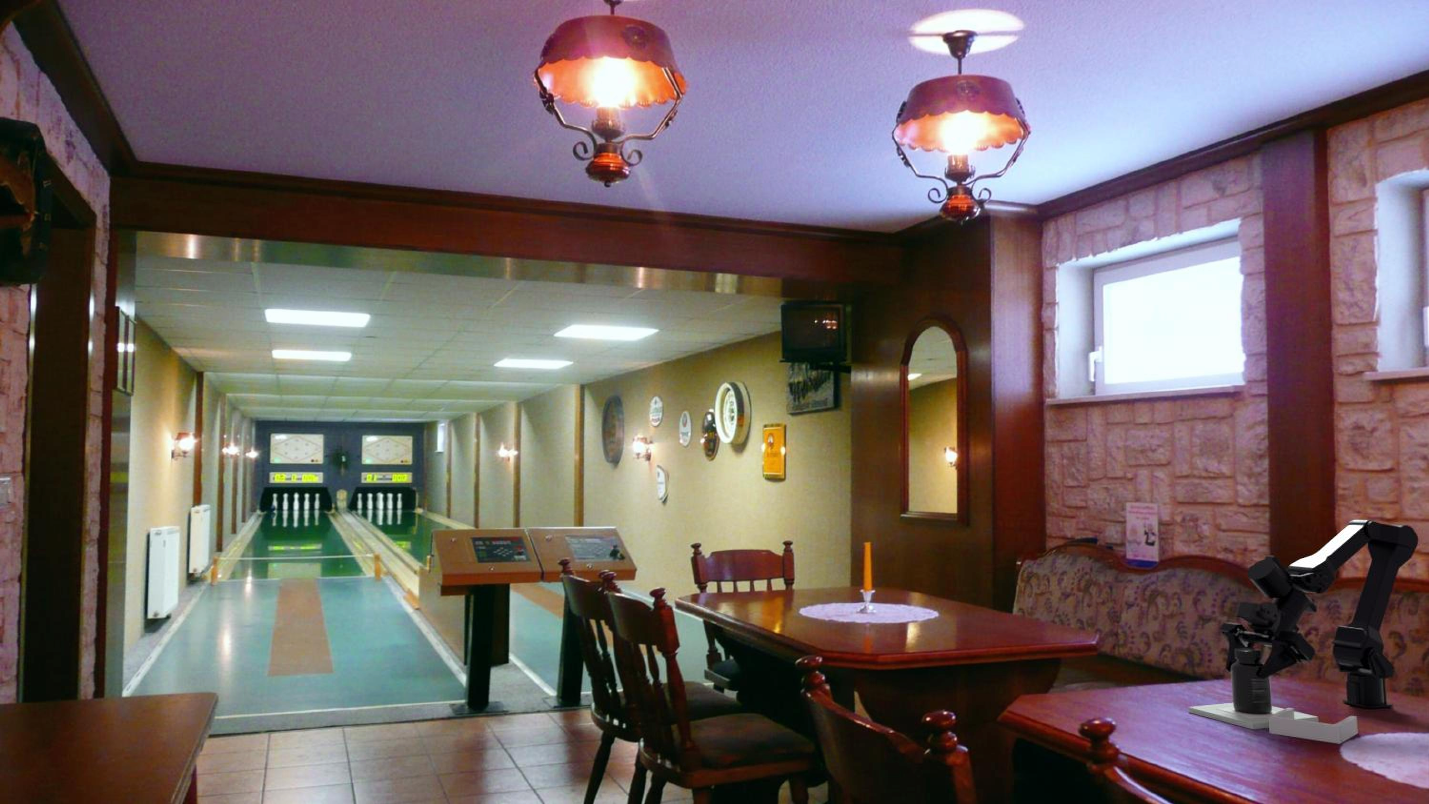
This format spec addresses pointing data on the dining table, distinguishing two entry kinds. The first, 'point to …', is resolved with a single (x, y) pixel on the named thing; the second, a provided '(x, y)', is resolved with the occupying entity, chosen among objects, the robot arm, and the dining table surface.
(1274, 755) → the dining table surface
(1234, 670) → the supplement bottle
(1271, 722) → the holster
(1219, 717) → the docking plate
